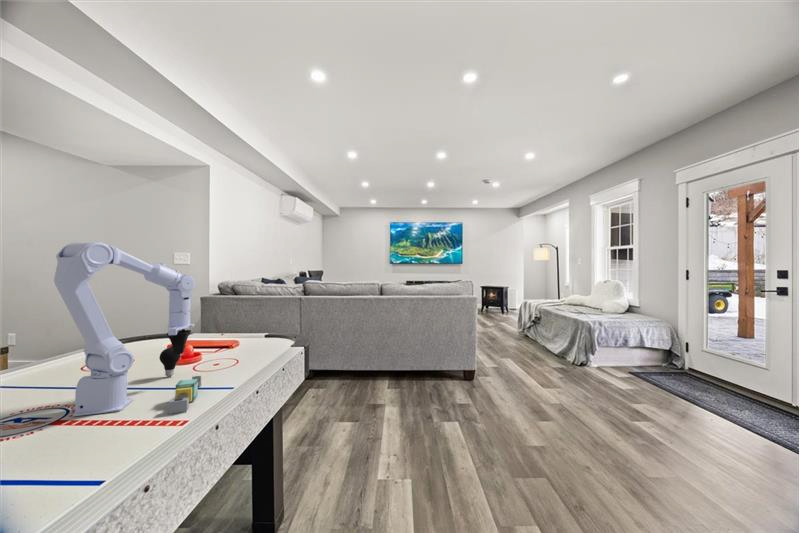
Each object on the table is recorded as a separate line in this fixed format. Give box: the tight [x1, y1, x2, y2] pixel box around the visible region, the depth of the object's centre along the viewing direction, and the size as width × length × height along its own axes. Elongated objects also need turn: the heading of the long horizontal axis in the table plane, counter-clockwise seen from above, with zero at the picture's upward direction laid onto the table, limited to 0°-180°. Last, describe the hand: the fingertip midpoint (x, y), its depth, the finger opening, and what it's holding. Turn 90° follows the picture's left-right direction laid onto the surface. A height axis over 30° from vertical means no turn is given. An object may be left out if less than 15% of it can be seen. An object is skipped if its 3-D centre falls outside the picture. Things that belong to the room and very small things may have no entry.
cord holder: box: [167, 374, 203, 415], centre depth 90 cm, size 21×4×4 cm, turn 21°
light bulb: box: [159, 347, 181, 378], centre depth 108 cm, size 6×6×10 cm
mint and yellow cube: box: [174, 378, 199, 402], centre depth 88 cm, size 4×4×5 cm
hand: (178, 353), depth 100 cm, fingers closed
